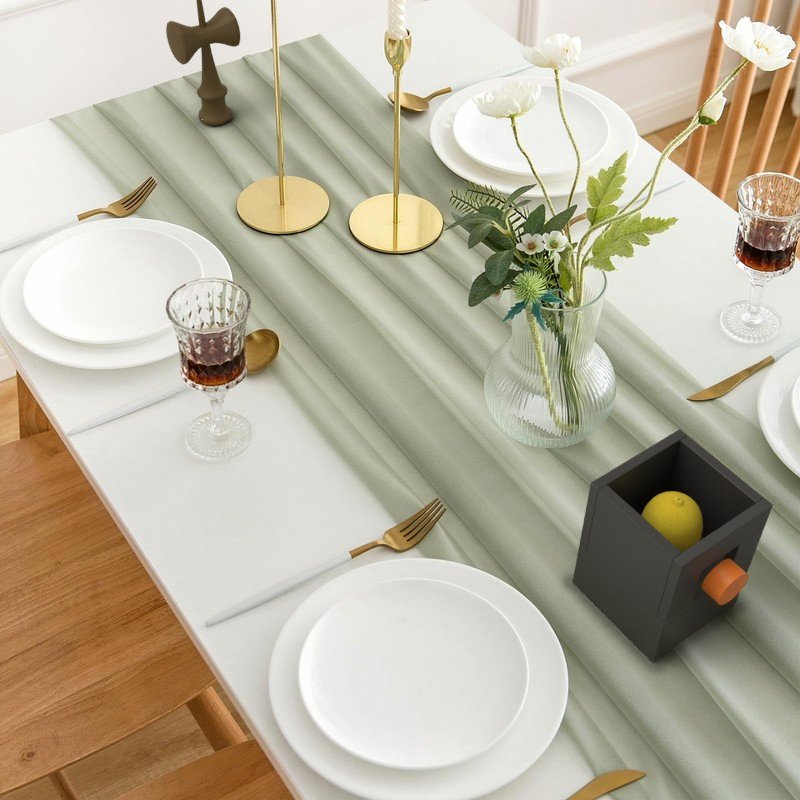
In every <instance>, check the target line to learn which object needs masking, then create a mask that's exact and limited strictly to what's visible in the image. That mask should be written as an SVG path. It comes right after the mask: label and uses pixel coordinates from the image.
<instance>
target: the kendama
mask: <svg viewBox="0 0 800 800" xmlns="http://www.w3.org/2000/svg"><path fill="white" fill-rule="evenodd" d="M195 2H196V10H197V11H196V12H197V19H198V24H197V25H192V26H189V25H185V24H182V23H181V22H177V21H175V20H170V21H168V22H166V28H165V33H166V39H167V42H168V46H169V49H170V52H171V53H172V55H173V58H175V60H176V61H177V62H178V63H179V64H181V65H187V64H188V63H189V62H190V61H191V60H192V59H193V57H194V55H195V54H196V53H198V50H200V52H201V81H200V86H199V87H198V88H197V90H196V94H197V96H198V98H200V101H201V108H200V110H199V111H198V115H197V117H198V119H199V120H200V122H202V123H203V124H205V125H208V126H218V125H219V126H220V125H223V124H225V123H227V122H229V121H230V120H231V119H232V118H233V114H234V113H233V111H232V109H231V107H229V106H227V103H226V96H227V95H228V91H229V89H228V87H227V86H226V85H225V84H224V83H222V81H221V79H220V75H219V73H218V69H217V67H216V62H215V60H214V55H213V51H212V47H211V45H213V44H221V45H225V46H229V47H234V48H235V47H238V46H240V43H241V29H240V25H239V22H238V20H237V17H236V16H235V14H234V13H233V11H232V10H231V9H230V8H229V7H227V6H223V7H221V8H220V9H218V10H217V11H216V13H215V14H214V15H213V16H212V17H211V18H210V19H209V20H207V21H206V16H205V9H204V5H203V0H196V1H195ZM202 119H203V120H202Z"/></svg>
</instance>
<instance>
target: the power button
mask: <svg viewBox="0 0 800 800" xmlns="http://www.w3.org/2000/svg"><path fill="white" fill-rule="evenodd" d="M749 577H750V576H749V574H748V572H747V573H746V572H745V571H744V570H743V569H742V568H740V567H739V566H738V565H737V564H736V563H735V562H734V561H732V560H731V559H725V560H723V561H722V562H720V563H719V564H717V565H716V566H715V567H714V568H713V569H712V570H711V571H710V572H709V574H708V575H707V576H706V578H705V579H704V581H703V583H702V589H703V590H704V591H705V592H706V593H707V594H708V595H709V596H710V597H711V598H713V599H714V600H715V601H716V602H717V603H718V604H719V605H723V604H726V603H727V602H729V601H730V600H732V599H733V598H734V597H735V596H736V595H737V594H738V593H739V592H741V591H742V590H743V589H744V587H745V586H746V585H747V583H748V580H749ZM739 594H740V593H739Z"/></svg>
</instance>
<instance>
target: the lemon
mask: <svg viewBox="0 0 800 800" xmlns="http://www.w3.org/2000/svg"><path fill="white" fill-rule="evenodd" d="M641 516H642V517H643V518H644V519H645V520H646V521H647V522H648V523H650V524H651V525H652V526H653V527H654V528H655V529H656V530H657V531H658V532H660V533H661V534H662V535H663V536H664V537H665V538H666V539H667V540H668V541H670V542H671V543H672V544H673V545H674V546H675V547H676V548H677V549H678V550H679V551H681V552H682V553H683V552H684V551H686V550H687V549H689V548H690V547H692V546H693V545H695V544H696V543H697V542H699V541H700V539H701V535H702V531H703V521H702V514H701V511H700V509H699V507H698V505H697V504H696V502H695V501H694V500H693V499H692V498H690V497H689V496H687V495H685V494H683V493H680V492H675V491H669V492H664V493H661V494H659V495H657V496H655V497H654V498H653V499H652V500H651V501H650V502H649V503H648V504H647V505H646V507H645V508H644V510H643V513H642V515H641Z"/></svg>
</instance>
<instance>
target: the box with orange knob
mask: <svg viewBox="0 0 800 800" xmlns="http://www.w3.org/2000/svg"><path fill="white" fill-rule="evenodd" d="M669 491H675V492H680V493H683V494H685V495H687V496H689V497H690V498H692V499H693V500H694V501H695V502H696V504H697V505H698V507H699V509H700V511H701V514H702V521H703V531H702V535H701V539H700V541H699V542H697V543H696V544H695V545H693V546H692V547H690V548H689V549H687V550H686V551H684V552H683V553H682V552H681V551H679V550H678V549H677V548H676V547H675V546H674V545H673V544H672V543H671V542H670V541H668V540H667V539H666V538H665V537H664V536H663V535H662V534H661V533H660V532H658V531H657V530H656V529H655V528H654V527H653V526H652V525H651V524H650V523H648V522H647V521H646V520H645V519H644V518H643V517H642V516H641V515H642V513H643V510H644V508H645V507H646V505H647V504H648V503H649V502H650V501H651V500H652V499H653V498H654V497H655V496H657V495H659V494H661V493H664V492H669ZM585 506H586V507H585V512H584V516H583V517H584V518H583V522H582V529H581V534H580V539H579V544H578V549H577V555H576V561H575V566H574V570H573V571H574V572H573V577H572V583H573V585H574V586H576V587H577V588H578V590H580V591H581V592H582V594H583V595H585V596H586V597H587V599H588V600H589V601H590V602H592V604H593V605H595V607H597V608H598V610H600V612H601V613H602V614H604V615H605V617H607V619H608V620H610V621H611V623H613V624H614V626H615V627H616V628H617V629H619V630H620V631H621V633H622V634H623V635H625V636H626V638H628V640H629V641H630V642H632V643H633V644H634V645H635V647H637V649H638V650H639V651H640V652H641V653H642V654H643V655H644V656H645V657H647V659H648V660H649V661H650V662H651V663H655V662H657V661H658V660H659V659H660V658H662V657H664V655H666V654H667V653H669V652H670V651H672V650H673V649H675V648H676V647H678V645H680V644H681V643H683V642H684V641H686V640H687V639H689V638H690V637H691V636H693V635H694V634H696V633H697V632H699V630H701V629H702V628H704V627H705V626H706V625H708V624H710V623H711V622H712V621H714V619H717V618H718V617H720V616H721V615H722V614H723V613H725V612H726V611H727V610H729V609H731V608H732V607H733V606H735V605H736V603H737V600H738V598H739V595H740V592H741V591H740V592H739V593H738V594H737V595H736V596H735V597H734V598H733V599H732V600H730V601H729V602H727V603H726V604H723V605H719V604H718V603H717V602H716V601H715V600H714V599H713V598H711V597H710V596H709V595H708V594H707V593H706V592H705V591H704V590H703V589H702V583H703V581H704V579H705V578H706V576H707V575H708V574H709V572H710V571H711V570H712V569H713V568H714V567H715V566H716V565H717V564H719V563H720V562H722V561H723V560H725V559H731V560H732V561H734V562H735V563H736V564H737V565H738V566H739V567H740V568H742V569H743V570H744V571H745V572H746V573H747V574H748V572H749V569H750V567H751V564H752V561H753V558H754V556H755V553H756V551H757V548H758V545H759V543H760V540H761V537H762V535H763V532H764V531H765V528H766V525H767V523H768V519H769V516H770V514H771V512H772V509H773V506H774V504H773V503H771V502H770V501H769V500H768V499H767V498H765V497H764V496H763V495H762V494H760V493H759V492H758V491H756V490H755V489H754V488H753V487H752V486H750V484H748V483H747V482H746V481H744V480H743V479H742V478H741V477H740V476H738V475H737V474H736V473H735V472H734V471H732V470H731V469H730V468H728V467H727V466H726V465H725V464H724V463H722V462H721V461H720V460H718V459H717V458H716V457H715V456H714V455H712V454H711V452H709V451H708V450H706V449H705V448H704V447H702V446H701V445H700V444H699V443H698V442H696V441H695V439H693V438H691V437H690V436H689V435H687V434H686V432H684V431H683V430H682V429H681V428H678V429H677V430H675V431H674V432H673V433H671V434H669V435H667V436H666V437H664V438H663V439H660V440H659V441H657V442H656V443H654V444H653V445H650V446H649V447H648V448H646V449H644V450H642V451H640V452H639V453H638V454H636V455H634V456H632V457H630V458H629V459H627V460H626V461H624V462H622V463H621V464H620V465H617V466H616V467H614V468H613V469H611V470H609V471H608V472H606V473H604V474H603V475H601V476H600V477H598V478H596V479H594V480H593V481H590V485H589V491H588V496H587V501H586V505H585Z"/></svg>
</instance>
